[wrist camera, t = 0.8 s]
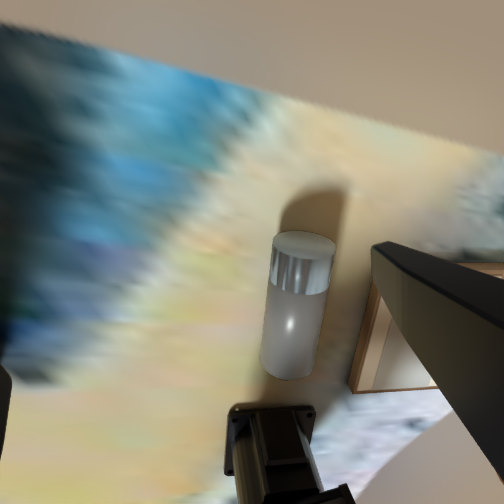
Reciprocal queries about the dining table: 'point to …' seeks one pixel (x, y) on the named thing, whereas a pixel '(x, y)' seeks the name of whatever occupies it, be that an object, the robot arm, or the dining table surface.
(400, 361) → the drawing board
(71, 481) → the dining table surface
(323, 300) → the cylinder
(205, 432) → the dining table surface
